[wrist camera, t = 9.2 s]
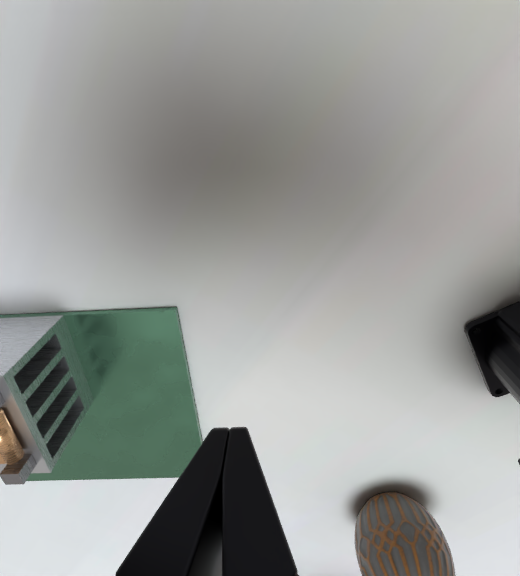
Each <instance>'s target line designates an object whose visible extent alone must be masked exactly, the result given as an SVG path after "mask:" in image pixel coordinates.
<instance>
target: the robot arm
mask: <svg viewBox="0 0 520 576" xmlns="http://www.w3.org/2000/svg"><path fill="white" fill-rule="evenodd" d="M476 328H477V329H476ZM474 329H476V330H475V331H473V330H474ZM465 333H466V335H467V338H468V341H469V343H470V346H471V348H472V351H473V353H474V356H475V358H476V361H477V363H478V366H479V368H480V371H481V374H482V376H483V379H484V381H485V384H486V386H487V389H488V391H489V392H490V393H491V394H492V396H494V397H500V396H503V395H506V394H508V393H511V394H512V395H513V397H514V398H515V399H516V400H517V401H518V402H519V404H520V302H518V303H515V304H513V305H510V306H508V307H506V308H503V309H501V310H498V311H496V312H494V313H491V314H489V315H487V316H484V317H482V318H479V319H477V320H475V321H472V322H470V323H469V324H467V325H466V327H465ZM518 462H519V465H520V459H519V460H518ZM116 576H299V575H298V574H297V568H296V565H295V562H294V560H293V557H292V554H291V551H290V548H289V545H288V542H287V540H286V537H285V534H284V531H283V528H282V525H281V523H280V520H279V517H278V514H277V511H276V508H275V505H274V503H273V500H272V497H271V494H270V491H269V488H268V486H267V483H266V480H265V477H264V474H263V471H262V469H261V466H260V463H259V460H258V457H257V454H256V451H255V449H254V446H253V443H252V440H251V437H250V434H249V432H248V429H247V428H246V427H232V428H231V429H229V428H213V429H212V430H211V431H210V432H209V434H208V435H207V437H206V438H205V440H204V441H203V443H202V444H201V446H200V447H199V449H198V450H197V452H196V453H195V455H194V456H193V458H192V459H191V461H190V462H189V464H188V465H187V467H186V468H185V470H184V471H183V473H182V474H181V476H180V477H179V479H178V480H177V482H176V483H175V485H174V486H173V488H172V489H171V491H170V492H169V494H168V495H167V497H166V498H165V500H164V501H163V503H162V504H161V506H160V507H159V509H158V510H157V512H156V513H155V515H154V516H153V518H152V519H151V521H150V522H149V524H148V525H147V527H146V528H145V530H144V531H143V533H142V534H141V536H140V537H139V539H138V540H137V542H136V543H135V545H134V546H133V548H132V549H131V551H130V552H129V554H128V555H127V557H126V558H125V560H124V561H123V563H122V564H121V566H120V567H119V569H118V570H117V572H116Z"/></svg>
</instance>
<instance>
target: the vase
mask: <svg viewBox="0 0 520 576" xmlns="http://www.w3.org/2000/svg"><path fill="white" fill-rule="evenodd" d="M355 548H356V555H357V560H358V564H359V568H360V571H361V573H362V576H455V569H454V563H453V558H452V555H451V551H450V548H449V546H448V543H447V541H446V539H445V537H444V534H443V532H442V531H441V529H440V527H439V525H438V524H437V522H436V521H435V519H434V518H433V517H432V515H431V514H430V513H429V512H428V511H427V510H426V509H425V508H424V507H423V506H422V505H421V504H420V503H418V502H417V501H415V500H414V499H412V498H410V497H408V496H406V495H404V494H401V493H396V492H387V493H381V494H378V495H376V496H374V497H372V498H370V499H369V500H368V501H367V502H366V503H365V505H364V506H363V508H362V509H361V511H360V513H359V515H358V517H357V521H356V526H355Z"/></svg>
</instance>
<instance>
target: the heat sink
mask: <svg viewBox="0 0 520 576" xmlns="http://www.w3.org/2000/svg"><path fill="white" fill-rule="evenodd" d="M0 409H2V410H3V412H4V414H5V416H6V418H7V420H8V421H9V423H10V425H11V427H12V429H13V431H14V433H15V435H16V437H17V439H18V441H19V443H20V444H21V446H22V448H23V450H24V456H23V458H22V459H21V460H19V461H18V462H16V463H14V464H11V465H7V464H0V477H1V478H2V480H3V481H4V483H5V484H24V483H25V482H26V481H45V480H88V479H131V478H175V477H180V476H181V474H182V473H183V471H184V470H185V468H186V467H187V465H188V464H189V462H190V461H191V459H192V458H193V456H194V455H195V453H196V452H197V450H198V449H199V447H200V446H201V444H202V443H203V442H202V437H201V432H200V427H199V421H198V416H197V411H196V405H195V400H194V395H193V390H192V384H191V379H190V374H189V369H188V363H187V358H186V353H185V348H184V342H183V337H182V332H181V327H180V321H179V316H178V311H177V307H169V308H147V309H124V310H101V311H78V312H55V313H33V314H10V315H0Z"/></svg>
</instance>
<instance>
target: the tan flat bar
mask: <svg viewBox="0 0 520 576" xmlns="http://www.w3.org/2000/svg"><path fill="white" fill-rule="evenodd" d="M23 456H24V450H23V448H22V446H21V444H20V443H19V441H18V439H17V437H16V435H15V433H14V431H13V429H12V427H11V425H10V423H9V421H8V420H7V418H6V416H5V414H4V412H3V410H2V409H0V464H7V465H11V464H14V463H16V462H18V461H19V460H21V459H22V458H23Z"/></svg>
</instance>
